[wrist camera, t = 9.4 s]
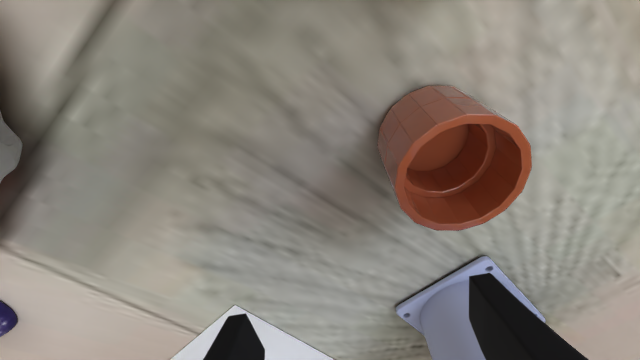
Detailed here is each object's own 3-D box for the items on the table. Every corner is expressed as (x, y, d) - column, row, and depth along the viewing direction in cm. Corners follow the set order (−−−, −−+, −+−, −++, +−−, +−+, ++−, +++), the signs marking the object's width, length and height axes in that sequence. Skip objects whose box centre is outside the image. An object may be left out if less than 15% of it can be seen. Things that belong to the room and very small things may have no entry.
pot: (496, 135, 18) (554, 180, 14) (414, 194, 20) (442, 249, 16) (442, 59, 16) (489, 83, 12) (355, 132, 18) (368, 177, 13)
